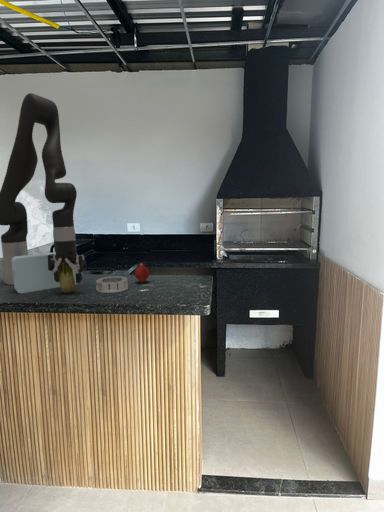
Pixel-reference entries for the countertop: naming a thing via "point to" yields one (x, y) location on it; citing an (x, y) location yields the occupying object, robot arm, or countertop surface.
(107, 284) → the white low ring
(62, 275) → the fennel bulb
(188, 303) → the countertop surface
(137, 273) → the onion
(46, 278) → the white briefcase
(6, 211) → the robot arm
